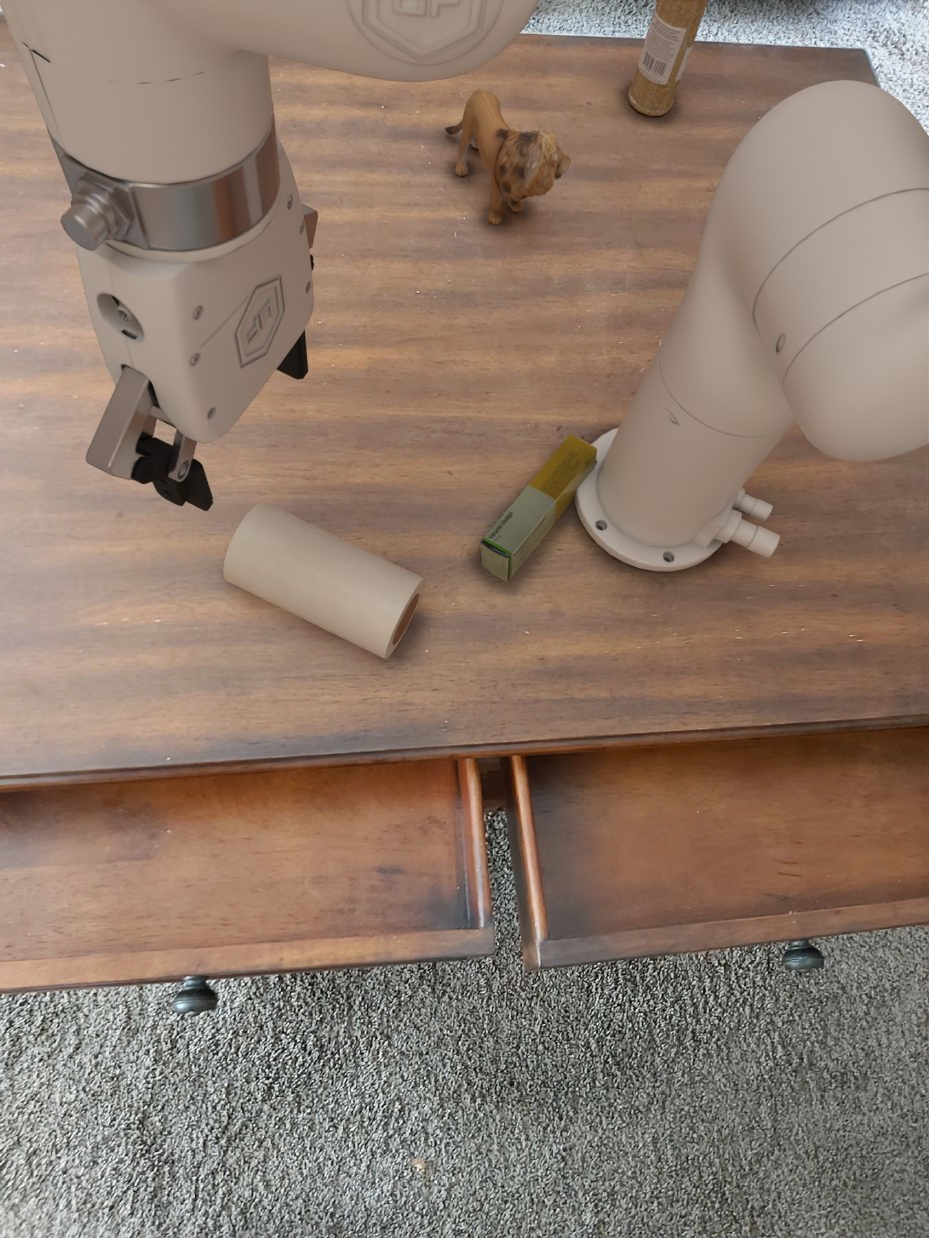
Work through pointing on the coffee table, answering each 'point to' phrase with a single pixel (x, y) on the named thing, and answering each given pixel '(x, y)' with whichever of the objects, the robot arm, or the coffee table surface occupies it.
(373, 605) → the paper towel roll
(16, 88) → the coffee table surface
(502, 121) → the lion figurine
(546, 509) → the medication box
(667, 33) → the sprinkles bottle
